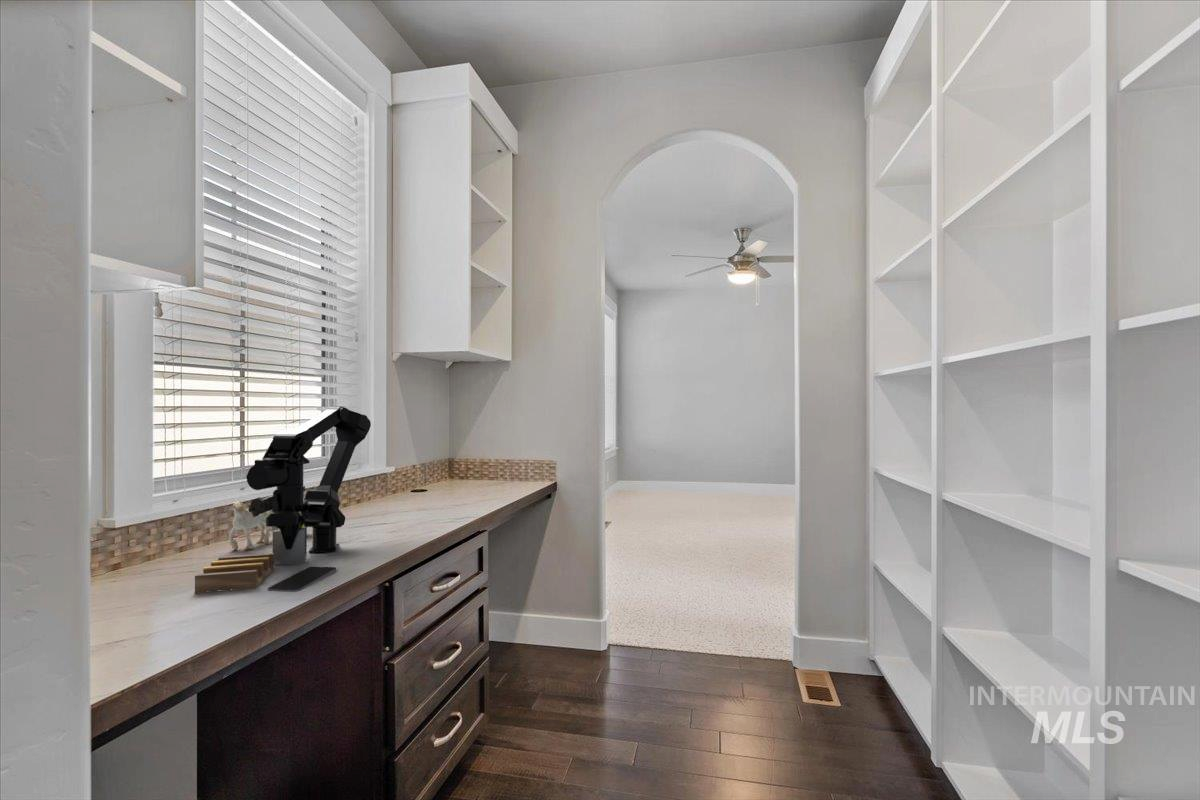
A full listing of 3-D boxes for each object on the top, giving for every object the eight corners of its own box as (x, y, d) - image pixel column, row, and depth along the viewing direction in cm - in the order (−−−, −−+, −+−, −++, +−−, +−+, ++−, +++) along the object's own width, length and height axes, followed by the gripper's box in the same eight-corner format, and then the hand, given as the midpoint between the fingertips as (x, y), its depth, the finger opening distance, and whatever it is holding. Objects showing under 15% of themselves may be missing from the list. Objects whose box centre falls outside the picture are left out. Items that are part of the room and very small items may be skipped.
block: (274, 562, 138) (274, 529, 138) (306, 560, 140) (306, 528, 140) (272, 565, 136) (272, 531, 136) (304, 562, 138) (305, 529, 138)
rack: (220, 572, 130) (220, 555, 130) (273, 568, 134) (274, 551, 134) (194, 593, 116) (194, 574, 116) (255, 588, 119) (255, 569, 119)
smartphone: (264, 589, 118) (309, 566, 133) (264, 594, 118) (309, 570, 133) (297, 590, 117) (338, 567, 132) (297, 595, 117) (338, 571, 132)
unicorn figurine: (214, 558, 142) (214, 504, 142) (253, 539, 161) (253, 492, 162) (245, 557, 143) (245, 504, 143) (280, 539, 162) (280, 492, 162)
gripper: (263, 480, 145) (262, 541, 145) (240, 491, 127) (240, 561, 127) (311, 478, 148) (311, 538, 148) (295, 489, 130) (295, 557, 130)
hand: (289, 548), depth 138 cm, fingers closed on block, 2 cm apart
